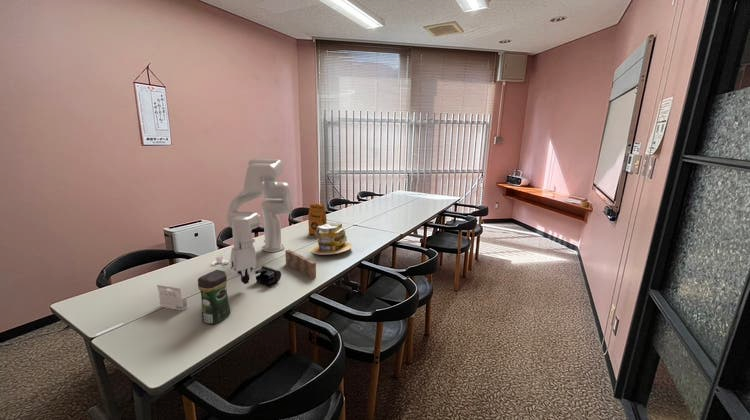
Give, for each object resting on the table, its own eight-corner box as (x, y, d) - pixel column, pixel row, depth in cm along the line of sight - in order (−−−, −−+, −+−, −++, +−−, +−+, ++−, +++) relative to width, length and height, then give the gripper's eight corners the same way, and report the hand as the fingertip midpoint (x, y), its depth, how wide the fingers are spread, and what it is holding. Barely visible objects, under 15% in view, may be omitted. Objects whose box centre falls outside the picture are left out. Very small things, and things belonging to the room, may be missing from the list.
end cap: (281, 281, 149) (281, 268, 147) (270, 287, 143) (269, 274, 141) (266, 276, 154) (266, 263, 152) (255, 282, 148) (254, 269, 146)
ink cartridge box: (165, 303, 127) (162, 282, 125) (188, 308, 125) (185, 285, 122) (159, 306, 125) (156, 284, 122) (183, 311, 122) (180, 288, 120)
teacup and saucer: (231, 264, 167) (230, 257, 166) (215, 268, 161) (215, 261, 160) (224, 259, 173) (224, 252, 172) (209, 263, 167) (208, 256, 166)
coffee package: (321, 237, 212) (321, 206, 207) (306, 234, 217) (305, 204, 212) (329, 233, 221) (329, 203, 215) (314, 231, 226) (314, 201, 220)
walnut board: (285, 264, 168) (285, 250, 166) (289, 263, 170) (288, 249, 168) (312, 278, 153) (312, 263, 151) (316, 277, 154) (315, 262, 152)
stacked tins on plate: (303, 252, 186) (302, 225, 182) (329, 240, 207) (329, 216, 202) (335, 262, 174) (335, 233, 169) (360, 249, 194) (360, 223, 190)
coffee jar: (218, 308, 125) (214, 266, 120) (234, 313, 122) (230, 270, 117) (197, 322, 116) (192, 276, 111) (213, 327, 113) (209, 280, 109)
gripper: (255, 238, 143) (257, 274, 147) (221, 245, 132) (225, 285, 136) (263, 242, 138) (265, 280, 142) (229, 250, 127) (232, 291, 131)
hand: (245, 282), depth 139 cm, fingers closed
